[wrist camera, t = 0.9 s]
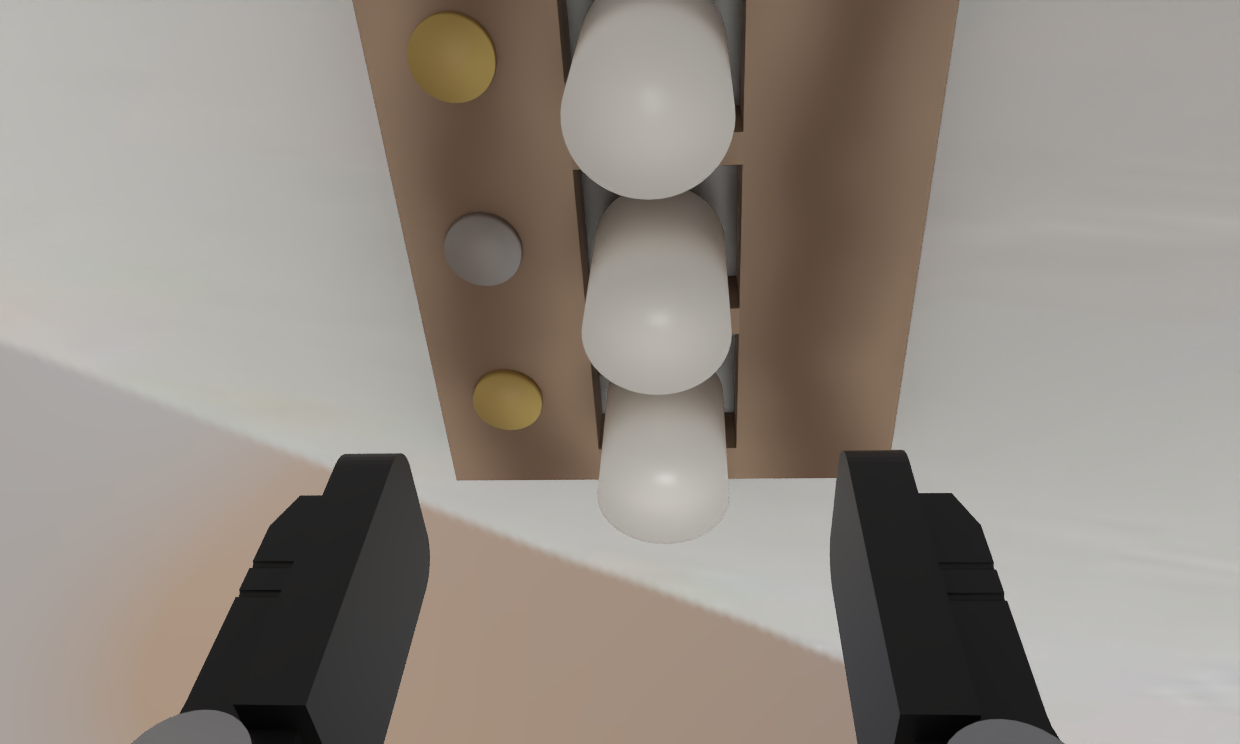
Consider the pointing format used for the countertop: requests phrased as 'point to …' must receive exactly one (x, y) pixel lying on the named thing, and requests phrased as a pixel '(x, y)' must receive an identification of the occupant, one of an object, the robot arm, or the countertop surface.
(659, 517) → the button
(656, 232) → the button
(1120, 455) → the countertop surface
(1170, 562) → the countertop surface
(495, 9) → the board
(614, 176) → the white domed cylinder
